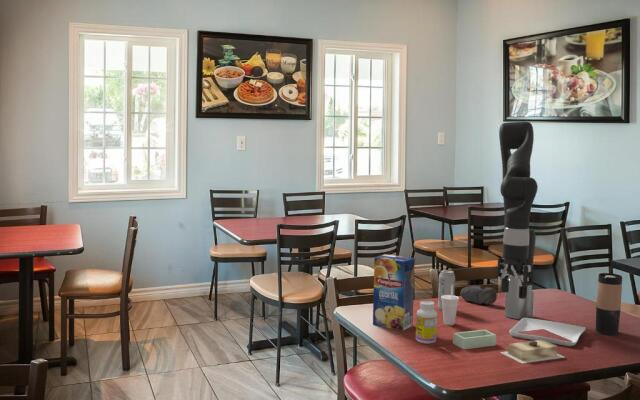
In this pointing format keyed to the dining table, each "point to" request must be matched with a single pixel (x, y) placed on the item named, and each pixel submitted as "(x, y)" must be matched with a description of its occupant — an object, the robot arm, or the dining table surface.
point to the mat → (532, 359)
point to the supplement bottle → (426, 323)
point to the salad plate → (555, 327)
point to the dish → (474, 339)
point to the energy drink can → (445, 285)
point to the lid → (532, 350)
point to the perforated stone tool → (479, 294)
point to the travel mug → (608, 303)
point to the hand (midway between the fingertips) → (513, 295)
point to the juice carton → (393, 291)
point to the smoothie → (449, 307)
